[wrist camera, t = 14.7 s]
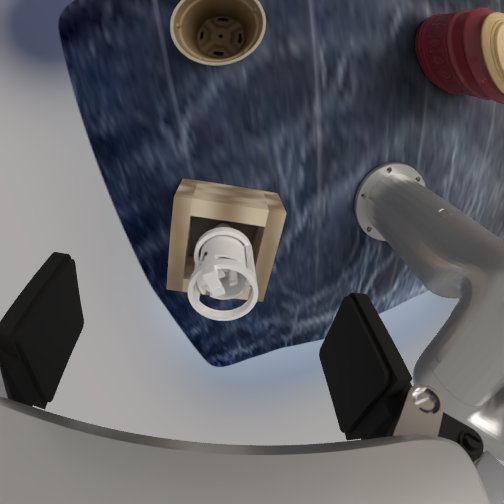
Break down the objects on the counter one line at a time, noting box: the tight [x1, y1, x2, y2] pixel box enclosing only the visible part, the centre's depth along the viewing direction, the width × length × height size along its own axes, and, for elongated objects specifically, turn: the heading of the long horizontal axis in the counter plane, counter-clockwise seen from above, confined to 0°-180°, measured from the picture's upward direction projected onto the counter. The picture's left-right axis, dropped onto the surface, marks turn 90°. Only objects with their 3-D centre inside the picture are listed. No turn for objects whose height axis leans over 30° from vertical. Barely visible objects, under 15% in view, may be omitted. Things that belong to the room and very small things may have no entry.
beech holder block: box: [167, 179, 287, 302], centre depth 41 cm, size 13×13×7 cm
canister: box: [415, 7, 504, 104], centre depth 24 cm, size 13×13×18 cm
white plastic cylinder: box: [188, 223, 258, 321], centre depth 36 cm, size 7×7×15 cm
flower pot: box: [170, 0, 266, 66], centre depth 27 cm, size 9×9×9 cm
